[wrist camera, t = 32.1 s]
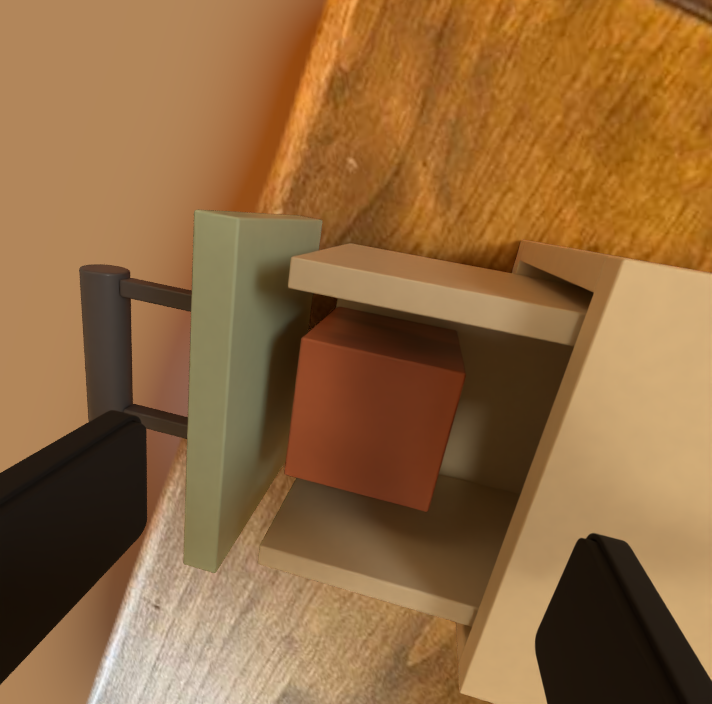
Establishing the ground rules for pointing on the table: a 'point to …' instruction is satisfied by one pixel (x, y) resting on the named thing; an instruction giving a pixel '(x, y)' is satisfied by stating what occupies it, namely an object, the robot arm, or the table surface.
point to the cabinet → (609, 463)
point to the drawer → (276, 393)
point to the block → (374, 405)
